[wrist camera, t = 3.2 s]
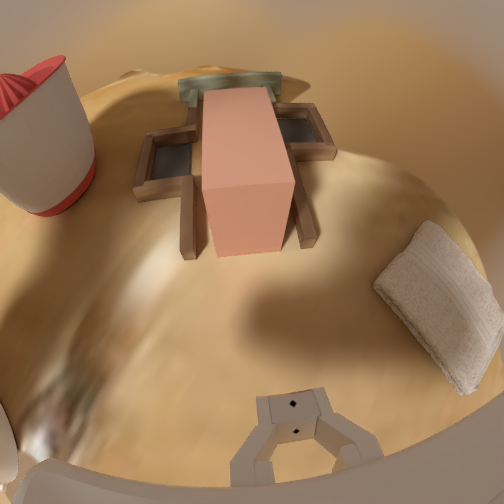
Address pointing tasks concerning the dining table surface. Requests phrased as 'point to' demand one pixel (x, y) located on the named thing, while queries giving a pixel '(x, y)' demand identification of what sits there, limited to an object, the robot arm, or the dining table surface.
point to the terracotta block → (244, 172)
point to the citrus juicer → (44, 139)
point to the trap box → (178, 156)
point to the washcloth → (444, 305)
